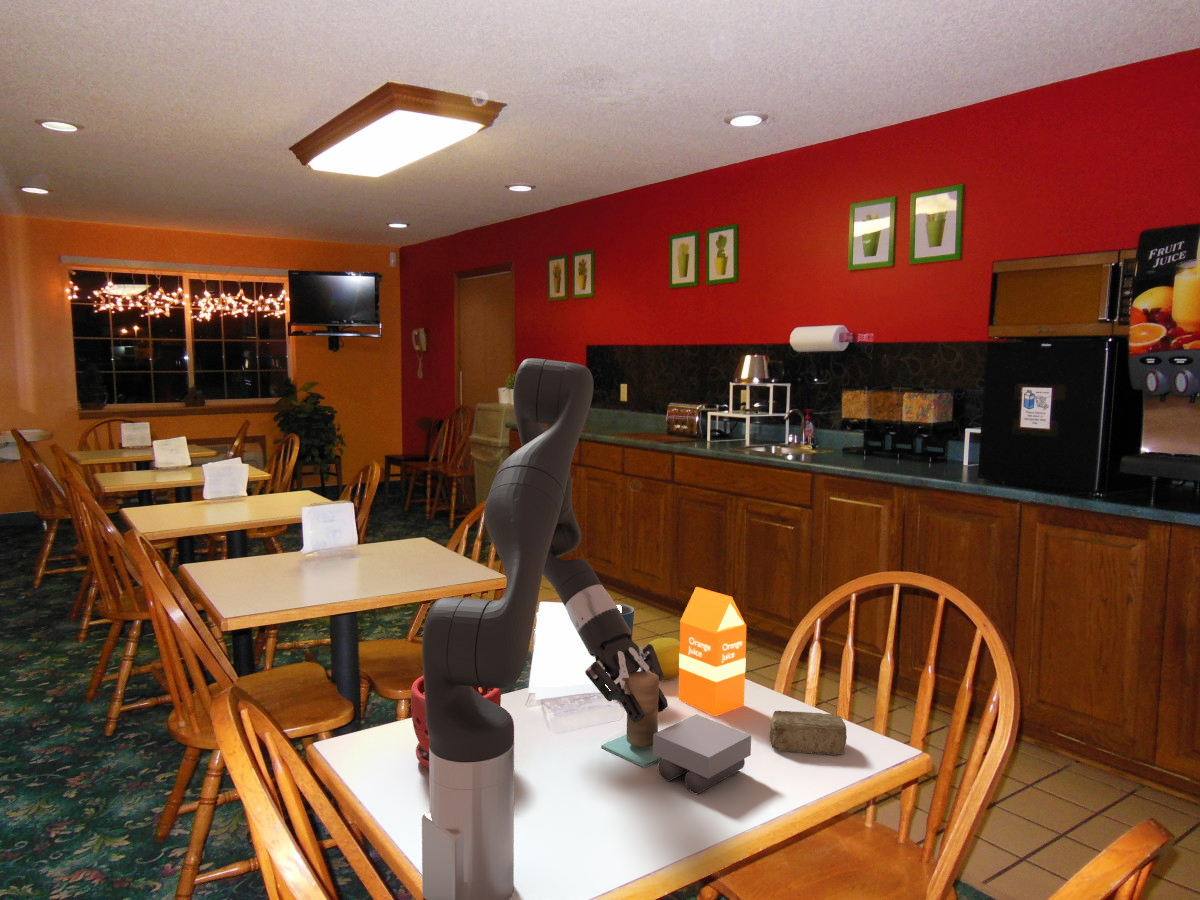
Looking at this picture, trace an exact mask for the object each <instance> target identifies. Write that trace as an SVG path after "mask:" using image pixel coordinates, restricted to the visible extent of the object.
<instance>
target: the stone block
mask: <svg viewBox="0 0 1200 900" xmlns="http://www.w3.org/2000/svg"><path fill="white" fill-rule="evenodd" d="M768 733H769V734H768V735H769V742H770V746H771V748H773V749H776V750H778V751H781V752H789V753H802V754H814V755H815V754H816V755H817V754H819V755H820V754H821V755H842V754H844V753H845V749H846V744H847V725H846V723H845V722H844V720H843V718H842V716H840V715H837V714H834V713H821V712H807V711H787V710H785V711H784V710H775V711H774V712H773V713H772V718H771V720H770V726H769V732H768Z"/></svg>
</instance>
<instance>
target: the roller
mask: <svg viewBox="0 0 1200 900" xmlns="http://www.w3.org/2000/svg"><path fill="white" fill-rule="evenodd" d="M628 683H629V687H630V690H631V693H630V695H631V694H633V695H634V697H635V698H636V700H637V702H638V703H639V705H640V707H641V709H642V710H643V712H644V717H643V718H642V719H641V720H640V721H638V722H636V723H635V722H633V720H631V719H630V718H629V716H628V714H627V713H626V734H627V742H628V743H630V744H632V745H635V746H640V747H647V746H652V745H653V734H654V733H657V732H659V713H658V698H659V688H660V686H659V684H660V680H659V676H658V675H657V674H655V673H652V672H645V671H641V670H638V671H637V672H633V673H630V674H629V678H628Z"/></svg>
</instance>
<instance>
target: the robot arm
mask: <svg viewBox="0 0 1200 900" xmlns="http://www.w3.org/2000/svg"><path fill="white" fill-rule="evenodd" d="M515 373H516V374H515V379H514V384H513V390H512V391H513V392H512V393H513V395H512V398H513V399H512V401H513V402H512V403H513V411H514V417H515V422H516V426H517V427H516V428H517V431H518V437H519V442H520V446H521V447H520V448H518V449H516V450H515V451H514V452H513V453H512V454H511V455H509V456H508V457H507V458H506V459H505V460H504V461H503V462H502V463H501V464H500V466H499V468H498V470H497V471H496V473H495V475H494V479H493V481H492V484H491V487H490V490H489V491H488V495H487V498H486V501H485V505H484V510H483V516H484V517H483V518H484V522H485V527H486V530H487V533H488V536H489V537H490V540H491V542H492V544H493V546H494V549H495V551H496V553H497V554H498V557H499V559H500V562H501V565H502V567H503V570H504V571H503V572H504V574H505V578H506V585H505V589H504V593H503V595H502V597H501V598H499V599H498V600H497V599H496V600H495V599H485V598H470V597H469V598H467V597H442V598H440V599H438V600H436V601H435V602H434V603H433V604H432V605H431V607H430V609H429V610H428V612H427V615H426V618H425V621H424V625H423V631H422V643H421V647H422V648H421V654H422V655H421V656H422V659H421V661H422V673H423V675H422V676H424V690H425V692H424V696H425V712H426V725H427V729H428V733H429V768H428V769H429V772H428V773H429V776H428V777H429V782H428V783H429V784H428V785H429V794H428V795H429V811H428V812H426V813H424V814H423V815H422V817H421V861H422V862H421V864H422V865H421V866H422V868H421V870H422V871H421V873H422V874H421V876H422V877H421V878H422V880H421V881H422V883H421V885H422V890H421V891H422V892H421V893H422V895H421V896H422V897H423V898H424V899H425V900H510V899H511V898H512V896H513V893H514V889H515V887H514V885H515V884H514V883H515V882H514V879H515V878H514V875H515V874H514V871H515V869H514V866H515V865H514V864H515V863H514V859H515V858H514V857H515V853H514V851H515V850H514V849H515V848H514V846H515V845H514V843H515V838H514V837H515V835H514V833H515V827H514V826H515V824H514V822H515V820H514V819H515V816H514V815H515V812H514V811H515V810H514V809H515V724H514V718H513V716H512V715H511V713H510V712H509V711H508V710H507V709H506V708H504V707H502V706H501V705H500V706H499V705H497V704H495V703H493V702H491V701H489V700H488V699H486V698H484V697H483V696H481V695H480V694H479V693H478V692H476V691H475V690H474V689H473V687H472V686H474V687H478V688H481V687H486V688H501V689H508V688H511V687H513V686H514V685H515V684H516V683H517V682H518V680H519V679H520V677H521V675H522V672H523V671H524V668H525V664H526V662H527V658H528V654H529V649H530V645H531V644H530V643H531V640H532V633H533V630H534V629H533V628H534V622H535V616H536V612H537V606H538V605H537V604H538V600H539V594H540V589H541V584H542V577H544V578H545V579H546V580H547V581H548V582H549V583H550V584H551V586H552V587H553V588H554V590H555V592H556V593H557V595H558V597H559V599H560V600H561V602H562V604H563V605H564V607H565V610H566V612H567V615H568V617H569V619H570V622H571V623H572V625H573V627H574V629H575V630H576V633H577V634H578V636H579V638H580V640H581V641H582V643H583V646H585V648H586V650H587V651H588V652H587V653H588V654H589V656H591V657H593V658H595V661H593V663H592V664H591V665H590V666H588V667H587V669H586V670H585V672H584V673H585V675H586V677H587V678H588V679H589V680H590V681H591V683H592V684H593V685H594V686H595V688H597V690H598V691H599V692H600V694H601V695H602V696H603V697H604V698H605V699H606V701H607V702H612V701H617V702H619V703H621V705H622V707H623V709H624V711H625V712H626V715H627V714H628V716H629V718H630V719H631V720H633V722H635V723H636V722H638V721H640V720H641V719H642V718H643V717H644V712H643V710H642V709H641V707H640V705H639V703H638V702H637V700H636V698H635V697H634V695H633V694H631V695H630V693H631V690H630V687H629V683H628V678H629V674H630V673H633V672H638V671H645V672H652V673H654V672H653V669H654V671H655V674H657V675H658V676H659V681H660V679H661V678H662V677H663V676H664V675H663V672H662V669H661V666H660V664H659V661H658V658H657V656H656V653H655V650H654V648H653V646H652V645H651V644H648V643H647V644H648V645H647V644H646V645H647V646H646V645H644V646H638V644H636V643H635V641H634V640H633V638H632V639H631V630H630V628H629V627H628V625H627V623H626V622H625V620H624V618H623V617H622V615H621V613H620V611H619V610H618V608H617V606H616V605H615V604H616V603H615V602H614V600H613V598H612V596H611V595H610V594H609V593H608V591H607V589H605V587H604V586H603V584H602V583H601V581H600V578H599V577H598V575H597V574H596V572H595V571H594V569H593V567H592V566H591V564H590V563H589V562H588V561H587V560H586V559H584V558H573V559H568V560H566V559H565V560H564V559H563V560H562V559H560V558H559V557H561V556H563V555H566V554H569V553H571V552H573V551H575V550H576V549H577V548H578V547H579V545H580V543H581V541H582V530H581V528H580V525H579V523H578V520H577V519H576V516H575V513H574V509H573V504H572V500H573V499H572V496H573V493H572V492H573V479H572V475H571V466H572V463H573V462H572V461H573V457H574V454H575V452H576V448H577V446H578V443H579V439H580V437H581V435H582V431H583V430H584V427H585V426H584V425H585V424H586V421H587V418H588V416H589V412H590V408H591V405H592V400H593V395H594V378H593V375H592V372H591V370H590V369H589V368H588V367H587V366H585V365H582V364H580V363H576V362H569V361H568V362H567V361H560V360H552V359H545V358H544V359H543V358H531V357H530V358H526V359H524V360H523V361H522V362H520V365H519V366H518V368H517V371H516V372H515ZM542 424H545V425H550V426H549V427H548V428H547V429H546V430H545V429H544V426H543V425H542ZM606 672H607V673H606ZM605 684H606V685H607V686H608V688H609V689H610V690H611V691H609V689H608V688H607V687H606V686H605ZM668 706H669V704H668V699H667V698H666V697H665V694H664V693H663V691H662V689H661V688H660V687H659V698H658V714H659V713H662V712H663V711H665V710H666V709H667V708H668Z"/></svg>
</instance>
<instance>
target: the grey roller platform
mask: <svg viewBox="0 0 1200 900" xmlns="http://www.w3.org/2000/svg"><path fill="white" fill-rule="evenodd" d="M751 752H752V734H749V733H747V732H744V731H741V730H739V729H737V728H734V727H731V726H729V725H726V724H723V723H721V722H718V721H716V720H714V719H709V718H707V717H705V716H703V715H699V714H698V713H696V714H694V715H692V716H690V717H688V718H686V719H683V720H681V721H678V722H676V723H675V724H672V725H670V726H668V727H666V728H664V729H661V730H658V732H657V733H654V734H653V754H654V755H656V756H659V757H661V758H663V759H661V760H659V761H658V764H657V771H658V772H659V775H660V777H661V778H663V780H665V781H672V780H674V779H676V778H677V777H680V776H682V775H683V774H685V776H684V782H685V785H686V787H687V789H688V790H689V791H690V792H691V793H693V794H699V793H702V792H703V791H705V790H707V789H708V788H710V787H712V786H714V785H716V784H718V783H719V782H720V781H721V782H722V781H723V780H724V779H726V778H728V777H730V776H731V775H733V774H735V773H737V772H739V771H740V770H743V768H744V767H745V759H746V758H748V757H750V756H751V754H752V753H751Z"/></svg>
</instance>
